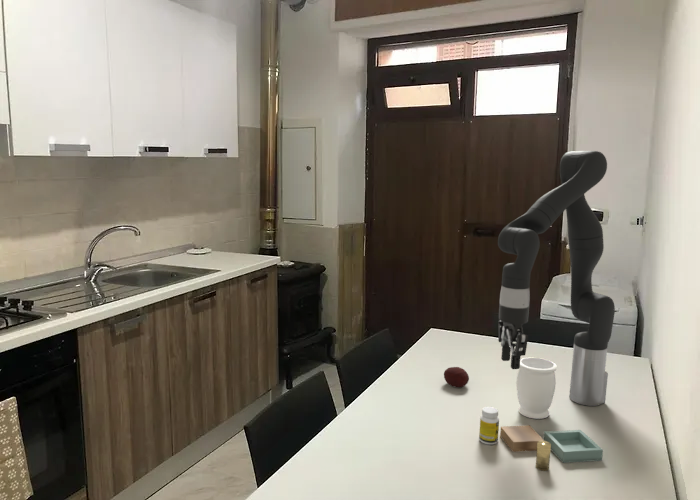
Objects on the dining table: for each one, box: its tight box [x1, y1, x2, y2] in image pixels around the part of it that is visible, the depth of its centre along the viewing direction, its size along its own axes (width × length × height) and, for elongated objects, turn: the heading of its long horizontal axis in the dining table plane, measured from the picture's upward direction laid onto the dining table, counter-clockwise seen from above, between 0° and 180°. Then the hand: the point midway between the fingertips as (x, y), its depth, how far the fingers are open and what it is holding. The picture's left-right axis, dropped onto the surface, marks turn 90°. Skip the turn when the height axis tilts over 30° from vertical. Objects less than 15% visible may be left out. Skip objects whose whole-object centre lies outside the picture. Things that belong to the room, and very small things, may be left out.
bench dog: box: [535, 441, 552, 472], centre depth 129 cm, size 3×3×6 cm
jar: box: [516, 356, 558, 420], centre depth 157 cm, size 11×10×15 cm
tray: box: [543, 429, 604, 463], centre depth 137 cm, size 10×10×3 cm
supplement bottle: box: [478, 406, 500, 446], centre depth 141 cm, size 5×5×8 cm
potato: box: [443, 366, 470, 389], centre depth 176 cm, size 7×8×6 cm
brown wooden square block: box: [499, 425, 544, 453], centre depth 141 cm, size 8×8×3 cm
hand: (510, 364), depth 147 cm, fingers open, 5 cm apart
